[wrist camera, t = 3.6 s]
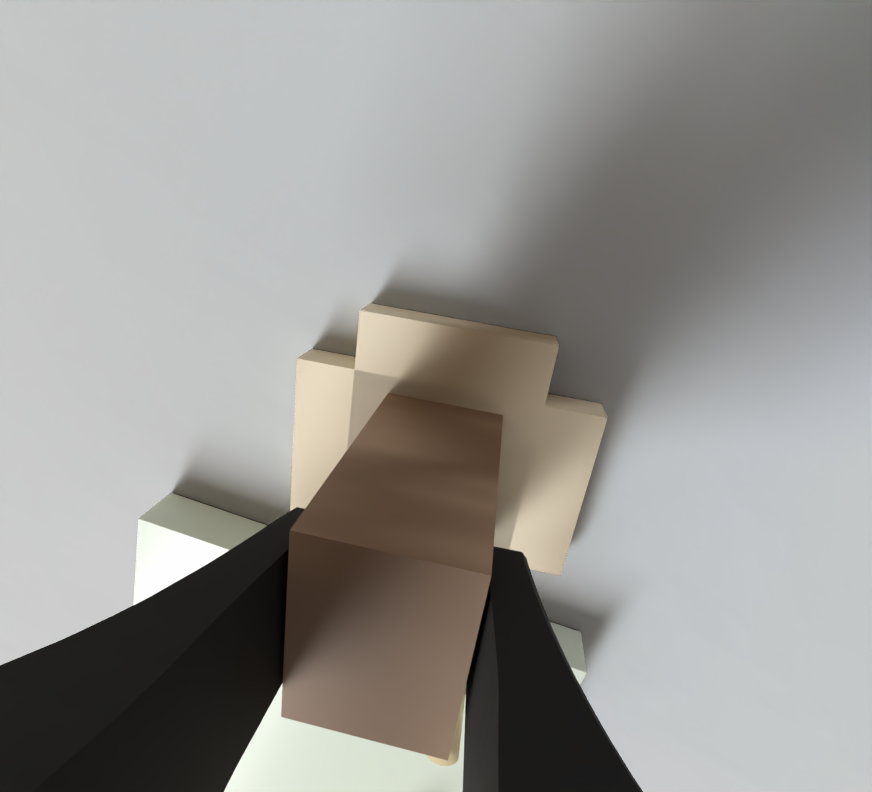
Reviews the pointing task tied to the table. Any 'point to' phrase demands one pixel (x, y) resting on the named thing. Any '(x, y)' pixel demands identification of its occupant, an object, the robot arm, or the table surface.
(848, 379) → the table surface
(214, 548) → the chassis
